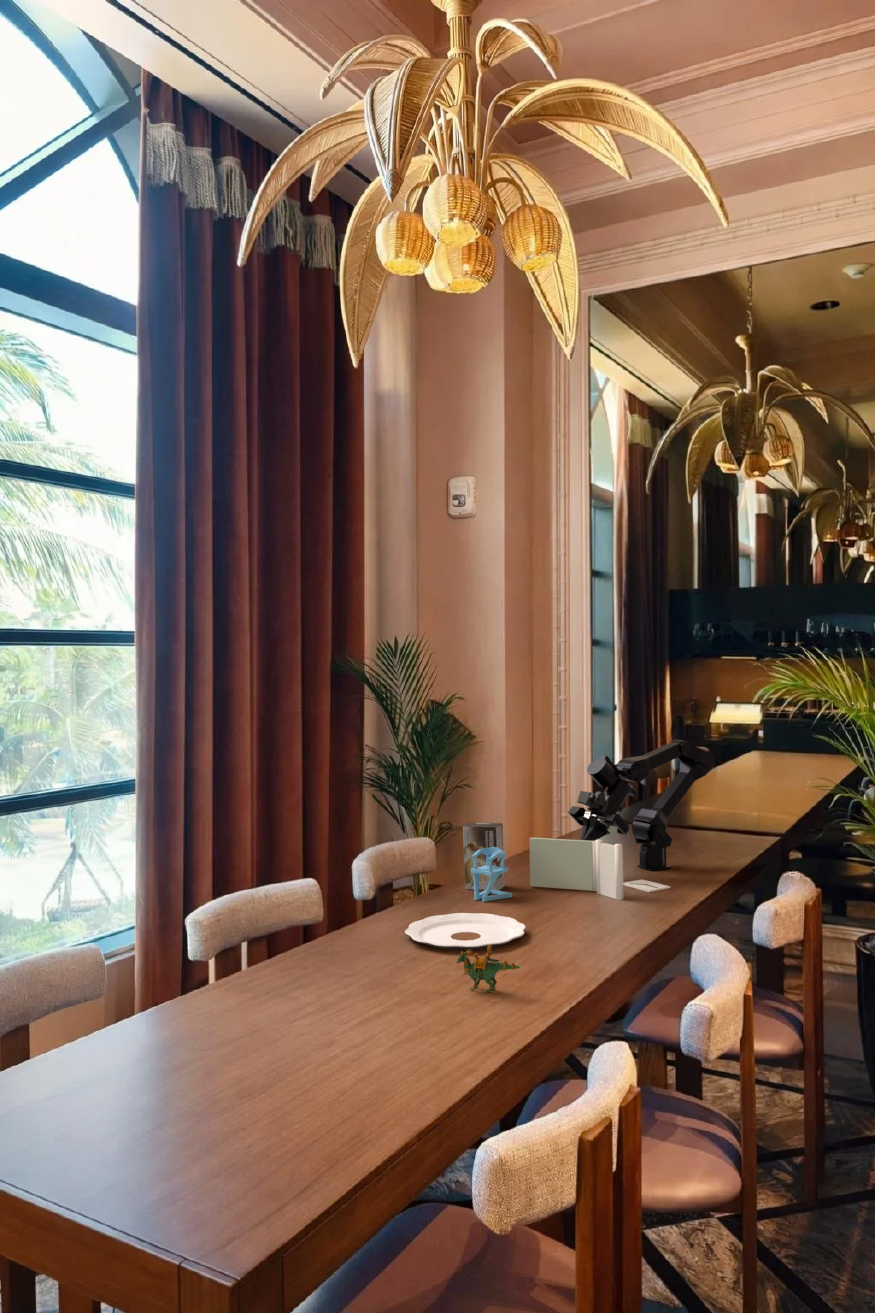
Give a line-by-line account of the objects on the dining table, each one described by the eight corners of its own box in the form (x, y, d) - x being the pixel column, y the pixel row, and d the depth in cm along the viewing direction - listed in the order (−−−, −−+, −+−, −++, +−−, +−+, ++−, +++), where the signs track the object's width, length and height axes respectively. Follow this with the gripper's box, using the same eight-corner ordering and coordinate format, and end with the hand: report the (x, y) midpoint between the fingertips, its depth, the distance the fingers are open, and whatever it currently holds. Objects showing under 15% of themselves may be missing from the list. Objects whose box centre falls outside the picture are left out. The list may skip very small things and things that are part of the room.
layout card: (670, 888, 245) (670, 886, 245) (649, 892, 241) (649, 890, 241) (642, 880, 253) (642, 878, 253) (621, 884, 250) (621, 882, 250)
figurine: (460, 984, 177) (459, 939, 177) (524, 992, 172) (523, 945, 172) (453, 990, 174) (452, 943, 174) (518, 997, 170) (517, 950, 170)
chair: (466, 899, 239) (465, 849, 239) (488, 892, 245) (487, 844, 245) (491, 903, 234) (489, 853, 234) (513, 897, 240) (511, 847, 240)
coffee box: (505, 885, 252) (504, 822, 252) (498, 891, 246) (497, 827, 246) (471, 883, 255) (470, 821, 255) (463, 889, 249) (462, 825, 249)
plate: (390, 929, 215) (390, 920, 215) (496, 916, 223) (496, 908, 223) (430, 962, 191) (430, 952, 191) (546, 945, 200) (546, 936, 200)
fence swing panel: (598, 889, 243) (597, 841, 243) (597, 890, 242) (595, 842, 242) (531, 885, 250) (530, 837, 250) (530, 886, 249) (529, 838, 249)
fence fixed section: (625, 899, 235) (623, 844, 235) (619, 900, 234) (618, 845, 234) (601, 892, 243) (599, 839, 242) (595, 893, 242) (594, 840, 242)
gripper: (572, 776, 266) (540, 822, 261) (618, 782, 250) (586, 832, 245) (596, 801, 270) (565, 847, 265) (643, 810, 254) (611, 859, 249)
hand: (581, 846), depth 255 cm, fingers closed
